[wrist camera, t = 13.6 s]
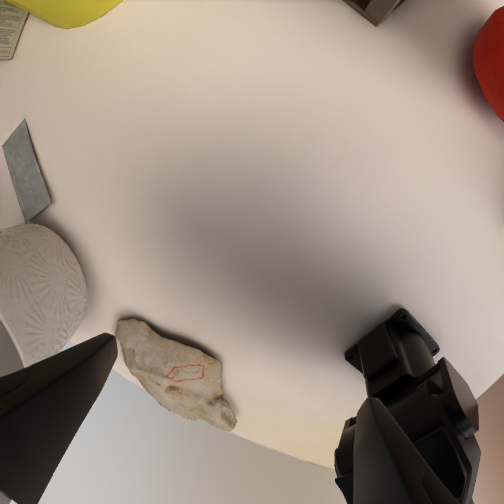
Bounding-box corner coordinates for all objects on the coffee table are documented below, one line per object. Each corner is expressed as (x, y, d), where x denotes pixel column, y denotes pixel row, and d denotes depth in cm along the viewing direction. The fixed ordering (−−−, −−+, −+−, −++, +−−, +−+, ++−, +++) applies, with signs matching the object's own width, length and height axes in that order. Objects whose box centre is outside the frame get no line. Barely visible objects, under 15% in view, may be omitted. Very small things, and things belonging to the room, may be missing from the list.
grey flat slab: (25, 117, 20) (28, 117, 20) (2, 144, 22) (5, 144, 22) (48, 205, 22) (52, 204, 22) (23, 225, 24) (26, 223, 24)
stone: (240, 415, 29) (234, 436, 27) (151, 407, 31) (142, 424, 29) (211, 314, 25) (201, 335, 22) (108, 313, 27) (92, 330, 24)
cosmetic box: (-6, 59, 18) (37, -39, 13) (12, 61, 18) (60, -45, 13) (-51, 58, 12) (-2, -53, 7) (-37, 59, 12) (19, -62, 7)
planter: (13, 197, 23) (-70, 236, 13) (104, 233, 23) (9, 299, 13) (21, 297, 28) (-38, 347, 19) (101, 342, 28) (44, 415, 18)
